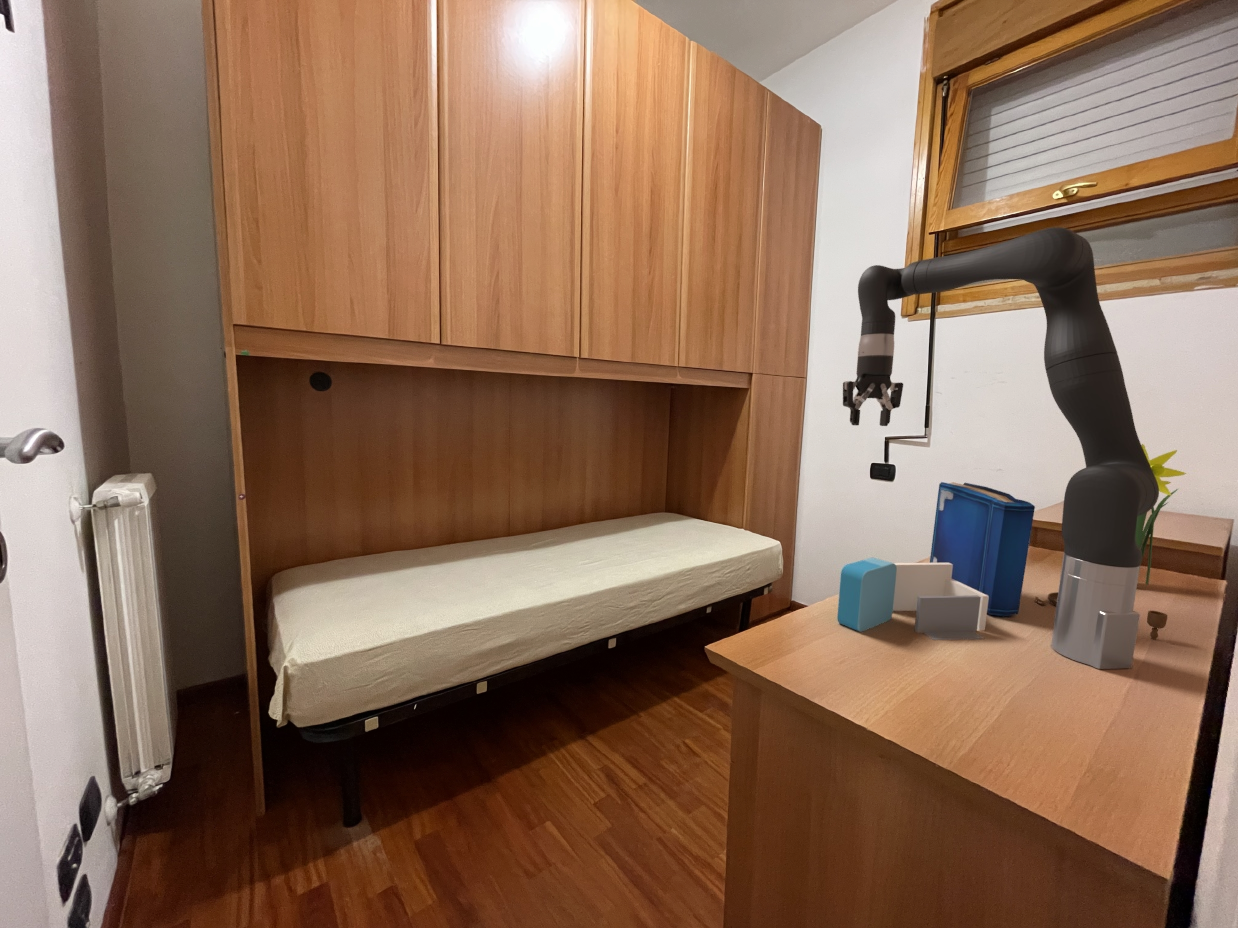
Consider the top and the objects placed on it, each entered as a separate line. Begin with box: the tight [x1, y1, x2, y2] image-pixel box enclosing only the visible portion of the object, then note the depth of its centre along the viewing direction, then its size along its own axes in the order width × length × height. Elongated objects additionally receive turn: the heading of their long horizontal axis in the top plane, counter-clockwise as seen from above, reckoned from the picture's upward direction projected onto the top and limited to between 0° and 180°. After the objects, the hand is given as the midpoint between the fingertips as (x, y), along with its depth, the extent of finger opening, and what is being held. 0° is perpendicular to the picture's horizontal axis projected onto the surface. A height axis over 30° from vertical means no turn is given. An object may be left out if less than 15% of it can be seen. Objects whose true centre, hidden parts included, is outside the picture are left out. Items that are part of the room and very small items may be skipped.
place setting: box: [1034, 592, 1168, 641], centre depth 102 cm, size 18×20×6 cm
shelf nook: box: [893, 562, 989, 641], centre depth 96 cm, size 14×14×10 cm
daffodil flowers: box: [1135, 443, 1187, 586], centre depth 119 cm, size 17×15×35 cm
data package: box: [836, 557, 897, 633], centre depth 96 cm, size 12×4×12 cm, turn 123°
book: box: [929, 481, 1036, 617], centre depth 108 cm, size 22×7×25 cm, turn 179°
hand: (869, 425), depth 118 cm, fingers open, 6 cm apart
